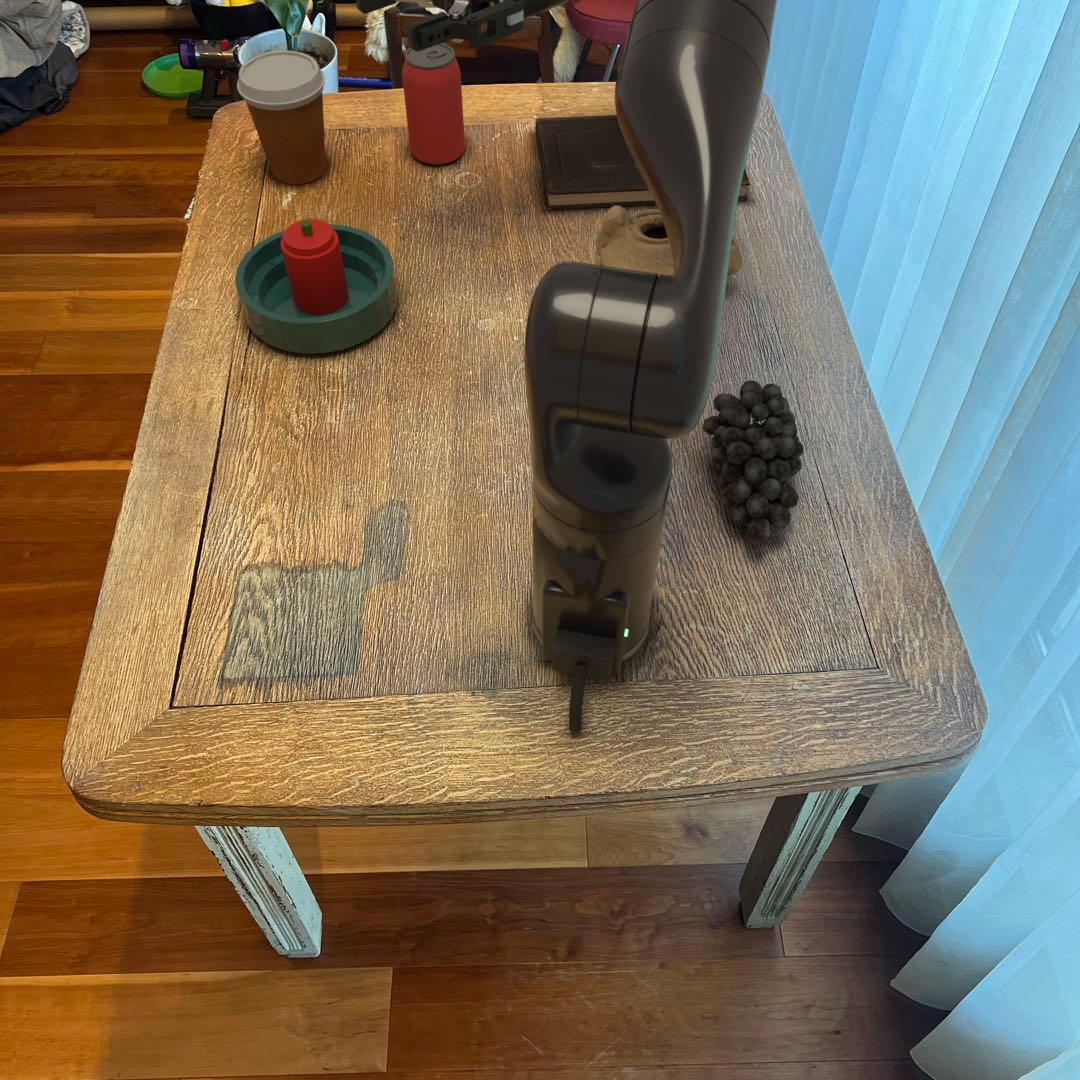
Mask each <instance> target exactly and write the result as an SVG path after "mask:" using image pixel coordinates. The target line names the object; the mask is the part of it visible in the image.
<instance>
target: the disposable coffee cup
mask: <svg viewBox="0 0 1080 1080" xmlns="http://www.w3.org/2000/svg"><path fill="white" fill-rule="evenodd" d="M238 70H239V71H238V79H237V83H236V89H237V91H238V93H239V95H240V96H241V97H242V99H243V100H244V102H245V103H246V106H247V109H248V112H249V114H250V117H251V119H252V122H253V125H254V127H255V130H256V133H257V135H258V138H259V141H260V143H261V146H262V149H263V151H264V154H265V157H266V160H267V162H268V165H269V167H270V170H271V173H272V176H273V178H275V179H276V180H278V181H279V182H282V183H285V184H289V185H301V184H306V183H310V182H313V181H316V180H317V179H319V178H321V176H322V175H323V174H324V173H325V172H326V169H327V162H326V161H327V160H326V141H325V121H324V100H323V99H324V97H323V91H324V86H325V82H326V76H325V73H324V71H323V70H322V69H321V68H320V66H319V64H318V62H317V61H316V59H314V58H313V57H312V56H311V55H308V54H306V53H304V52H301V51H294V50H274V51H268V52H265V53H260V54H258V55H255V56H253V57H251V58H250V59H247V60H246V61H245V62H244V63H243V64H242V65H241V66H240V69H238Z"/></svg>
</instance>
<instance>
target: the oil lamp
mask: <svg viewBox="0 0 1080 1080" xmlns="http://www.w3.org/2000/svg"><path fill="white" fill-rule="evenodd" d="M596 235H597V236H596V238H595V252H596V254H597V255H598V256H599V258H600V260H601V263H602V266H606V267H607V266H609V267H616V268H623V269H629V270H636V271H643V272H649V273H656V274H658V275H659V276H660V275H661V274H662V275H673V274H674V267H673V259H672V253H671V248H670V244H669V239H668V236H667V232H666V229H665V226H664V223H663V220H662V217H661V214H660V211H659V209H651V208H650V209H643V210H639V211H636V212H633V213H632V214H631V215H630V214H627V211H626V209H625V208H624V207H621V206H613V207H609V209H608V210H607V212H606V213H605V215H604V217H603V221H602V225H601V227H600V230H599V231H598V233H597V234H596ZM743 264H744V263H743V256H742V253H741V250H740V248H739V244H738V241H737V239H736V237H735V236H734V235H732V243H731V250H730V258H729V266H728V274H727V277H730V276H732V275H735V274H737V273H739V272H740V270H742V266H743Z"/></svg>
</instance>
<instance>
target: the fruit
mask: <svg viewBox="0 0 1080 1080" xmlns="http://www.w3.org/2000/svg"><path fill="white" fill-rule="evenodd" d="M713 408H714V410H715V411H716V412H718V414H717V415H711V416H709V417H707V418H705V419H703V424H702V430H703V431H704V433H705V434H707V435H709V436H712V437H711V441H710V442H711V443H710V444H711V447H712V448H713V452H712V460H713V462H714V463H715V469H716V470H717V471H718V472H719V479H718V482H719V484H720V485H721V486H722V487H723V488H724V489H723V490H722V491H721V493H720V495H719V496H720V501H721V503H722V505H724V507H726V508H729V509H730V508H731V509H732V510H731V512H730V517H731V519H732V521H733V523H734V524H736V525H739V526H741V527H742V526H744V527H746V528H747V531H746V537H747V538H748V540H749V541H750V543H752V544H755V545H761V544H765V543H766V542H767V541H768V539H769V538H770V536H771V534H772V532H773V528H775V529H778V530H779V529H781V530H782V529H784V528H786V527H787V526H788V525H789V524H790V522H791V519H792V517H791V516H792V514H791V511H790V510H789V509H792V508H795V507H797V504H798V503H799V499H800V496H799V494H798V491H797V490H796V489H795V488H794V487H793V486H792V479H791V477H793V476H795V475H797V474H798V473H799V472H801V470H802V467H803V465H802V459H801V458H800V457H801V456H802V455H803V454H804V449H805V448H804V445H803V443H802V442H801V441H800V438H799V436H798V427H797V423H796V415H795V414H794V411H793V412H792V411H791V410H790V402H789V401H788V399H787V398H786V397H784V396H783V392H782V390H781V387H780V386H779V385H777V384H775V383H774V382H772V383H767V384H765V385H764V386H762V385H761V384H760V383H759V382H758V381H756V380H747V381H745V382H743V383H742V384H741V386H740V390H739V397H737V396H736V395H734V394H732V393H718V394H717V395H716V396H715V398H714V399H713ZM751 418H752V419H751ZM751 422H752V423H751ZM759 422H761V423H759ZM772 527H773V528H772Z"/></svg>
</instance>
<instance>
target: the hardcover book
mask: <svg viewBox="0 0 1080 1080" xmlns="http://www.w3.org/2000/svg"><path fill="white" fill-rule="evenodd" d="M535 138H536V139H535V140H536V145H537V152H538V159H539V165H540V171H541V179H542V186H543V193H544V200H545V207H546V211H560V210H580V209H601V208H611V207H613V206H621V207H622V208H624V207H642V206H644V207H645V206H657V204H656V202H655V200H654V198H653V196H652V194H651V192H650V190H649V188H648V186H647V185H646V183H645V181H644V179H643V177H642V175H641V173H640V171H639V170H638V168H637V166H636V164H635V162H634V160H633V158H632V156H631V153H630V151H629V149H628V147H627V145H626V142H625V140H624V137H623V134H622V132H621V129H620V126H619V123H618V119H617V114H606V115H605V114H604V115H602V114H601V115H583V116H559V117H558V116H556V117H536V118H535ZM747 187H751V181H750V178H749V175H748V173H747V171H746V168H744V173H743V177H742V182H741V186H740V192H739V197H738V202H744V201H745V202H746V201H748V196H747V192H748V189H747Z"/></svg>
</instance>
